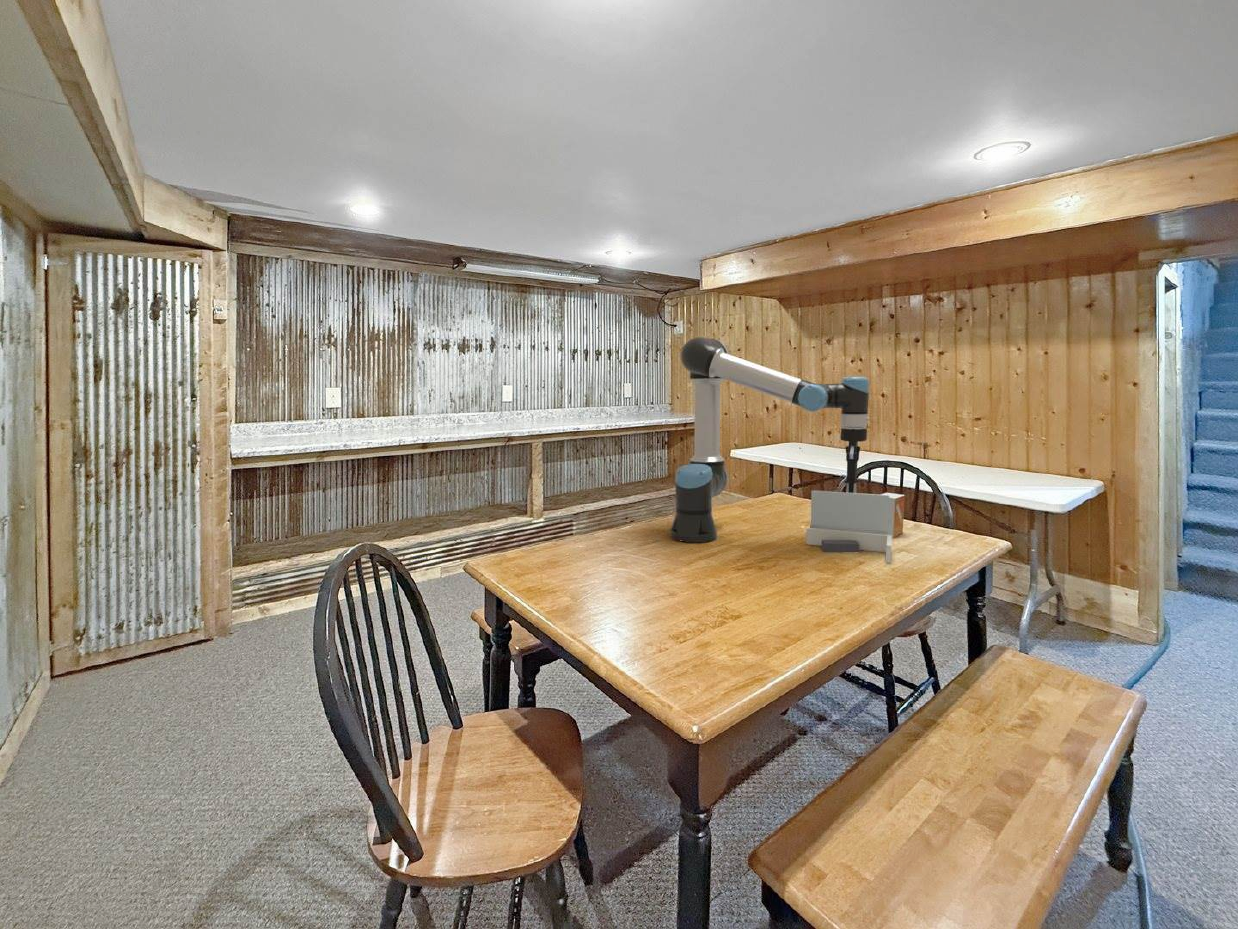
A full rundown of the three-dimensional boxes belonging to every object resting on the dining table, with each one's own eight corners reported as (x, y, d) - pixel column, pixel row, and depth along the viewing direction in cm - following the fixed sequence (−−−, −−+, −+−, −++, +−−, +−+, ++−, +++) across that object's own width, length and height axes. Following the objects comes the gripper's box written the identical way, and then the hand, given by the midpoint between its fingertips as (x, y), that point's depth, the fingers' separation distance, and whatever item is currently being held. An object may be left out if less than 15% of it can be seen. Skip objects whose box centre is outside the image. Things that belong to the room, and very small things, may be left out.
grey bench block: (800, 553, 173) (801, 537, 172) (807, 541, 186) (808, 525, 185) (890, 563, 163) (891, 545, 162) (891, 549, 176) (891, 533, 175)
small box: (893, 538, 188) (895, 498, 186) (873, 534, 192) (875, 495, 190) (903, 533, 193) (905, 494, 191) (883, 530, 198) (885, 492, 196)
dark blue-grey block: (823, 553, 174) (824, 543, 174) (821, 549, 178) (821, 539, 177) (858, 553, 173) (859, 544, 173) (856, 550, 176) (856, 540, 176)
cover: (810, 491, 178) (811, 490, 179) (809, 528, 181) (810, 527, 182) (890, 496, 169) (890, 495, 170) (888, 535, 172) (888, 534, 173)
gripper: (866, 429, 171) (862, 508, 175) (868, 426, 183) (864, 500, 187) (838, 429, 175) (835, 506, 178) (842, 425, 186) (839, 498, 190)
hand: (850, 503), depth 182 cm, fingers closed
